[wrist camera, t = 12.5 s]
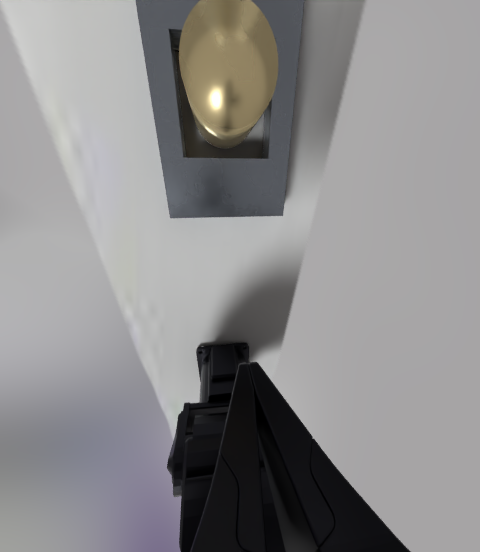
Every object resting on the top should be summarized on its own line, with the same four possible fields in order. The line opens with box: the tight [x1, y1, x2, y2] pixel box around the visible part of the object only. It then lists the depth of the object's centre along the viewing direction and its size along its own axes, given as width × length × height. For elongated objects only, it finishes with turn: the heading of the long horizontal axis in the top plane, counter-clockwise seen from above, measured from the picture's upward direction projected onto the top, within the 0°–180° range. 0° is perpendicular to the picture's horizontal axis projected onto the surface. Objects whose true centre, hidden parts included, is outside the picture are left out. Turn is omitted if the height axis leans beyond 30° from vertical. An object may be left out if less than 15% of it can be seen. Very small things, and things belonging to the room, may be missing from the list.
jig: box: [136, 0, 304, 218], centre depth 13 cm, size 14×9×2 cm, turn 0°
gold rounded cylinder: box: [179, 0, 278, 149], centre depth 11 cm, size 4×4×6 cm
